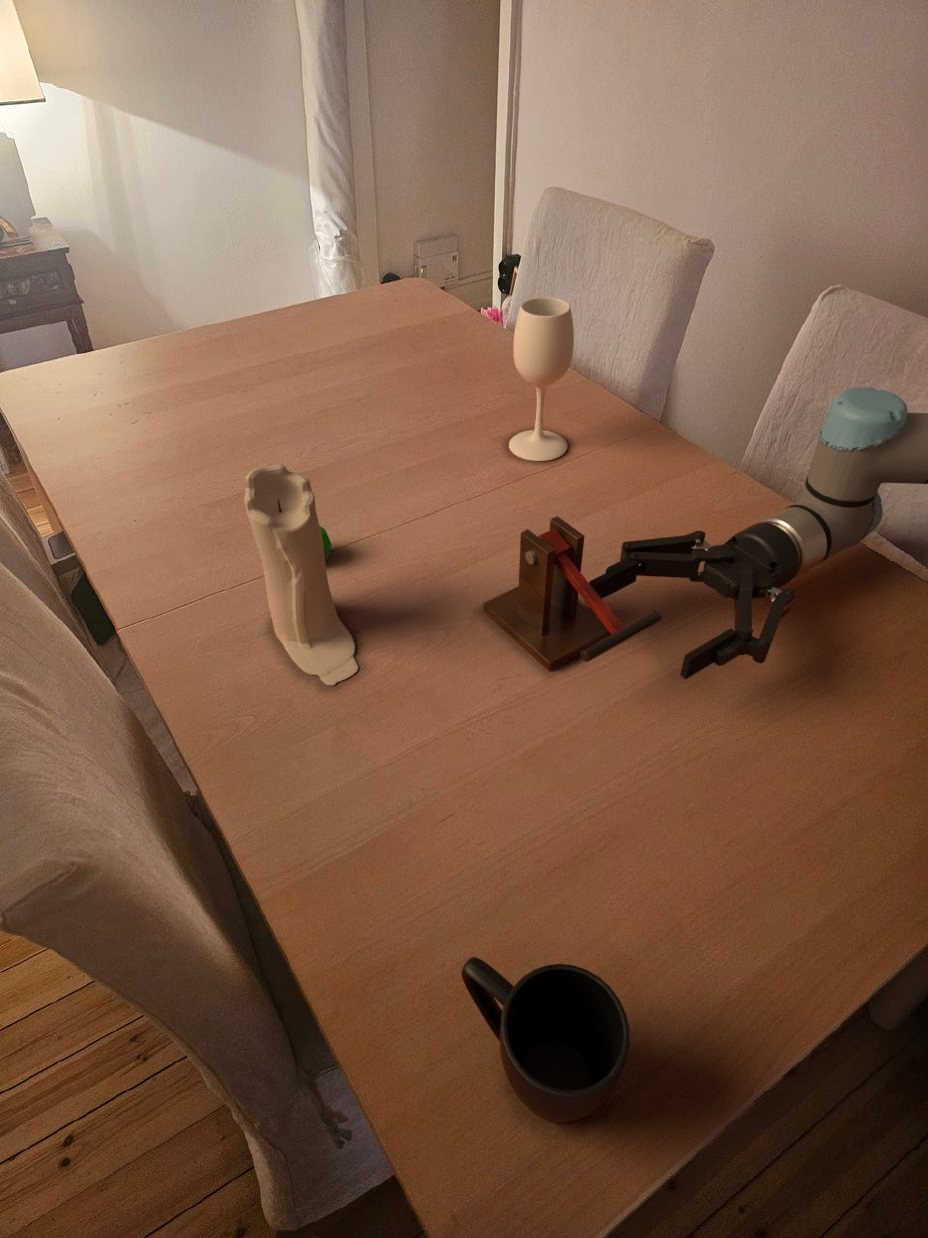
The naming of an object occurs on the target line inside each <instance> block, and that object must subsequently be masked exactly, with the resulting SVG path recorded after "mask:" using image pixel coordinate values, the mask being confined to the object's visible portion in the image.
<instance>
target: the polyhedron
mask: <svg viewBox="0 0 928 1238" xmlns="http://www.w3.org/2000/svg"><path fill="white" fill-rule="evenodd" d="M319 526H320V530H321V534H322V539H323V547H324V556H325V559H327V558H328V557H329V555H330V553H331V549H332V542H331V540H330V537H329V535H328V532H327V530H326V528H324V527H323V526H321V525H319Z"/></svg>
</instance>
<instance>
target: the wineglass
mask: <svg viewBox="0 0 928 1238" xmlns="http://www.w3.org/2000/svg"><path fill="white" fill-rule="evenodd" d="M573 321H574V320H573V313H572V307H571V305H570V304H569V302H567V301H565V300H563V299H560V298H557V297H549V296H539V297H533V298H529V299H527V300H525V301H523V302H522V303H521V305H520V306H519V310H518V314H517V318H516V322H515V327H514V334H513V346H512V347H513V361H514V365H515V369H516V370H517V372H518V374H519V375H520V376H521V377H522V378H523V379H524V380H525V381H526V382H528V383H529V384H530V385H532V386H534V387H535V389H536V417H535V423H534V424H535V425H534V429H530V430H524V431H521V432H519V433H517V434H515V435H514V436H512V438H511V439H510V440H509V442H508V448H509V450H510V452H511V453H512V454H513V455H514V456H516V457H519V458H520V459H523V460H526V461H531V462H547V461H552V460H555V459H558V458H560V457H561V456H563V455H564V454H565V453H566V451H568V443H567V441H566V440H565V438H564V437H563V436H561V435H560V434H558V433H555V432H553V431H550V430H546V429H545V430H544V406H545V405H544V402H545V396H546V390H547V388H548V387H549V386H551V385H553V384H555V383H557V382H558V381H560V380H561V379H562V378H563V377H564V376H565V375H566V373H567V372H568V371H569V368H570V366H571V364H572V360H573V353H574V345H575V343H574V342H575V334H574V333H575V331H574V322H573Z"/></svg>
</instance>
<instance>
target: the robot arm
mask: <svg viewBox="0 0 928 1238" xmlns="http://www.w3.org/2000/svg"><path fill="white" fill-rule="evenodd" d="M881 484H913V485H914V484H915V485H927V484H928V412H908V406H907V404H906V402H905V401H904V400H903V399H902V398H901V397H900V396H899V395H896V393H893V392H891V391H888V390H886V389H883V390H882V389H881V390H880V389H876V388H875V387H870V386H869V387H868V386H858V387H852V388H848V389H845V390H843V391H842V392H840V393H838V395H836V396H835V397H834V399H833V400H832V401H831V404H830V407H829V408H828V410H827V413H826V416H825V418H824V421H823V423H822V425H821V427H820V430H819V433H818V439H817V442H816V445H815V449H814V452H813V456H812V460H811V463H810V467H809V470H808V474H807V476H806V479H805V482H804V484H803V488H802V491H801V494H800V497H799V499H798V500H797V501H796V502H794V503H792V504H791V505H788V506H786V507H785V508H783V509H781V510H779V511H776V512H774V513H772V514H771V515H768V516H767V517H765V518H763V519H761V520H759V521H758V522H756V523H753V524H752V525H750V526H748V527H746V528H744V529H742V530H740V531H739V532H737V533H735V534H734V535H732V536H731V537H730V538H729V539H728V540H727V541H726V542H725V543H723V544H717V545H711V543H709V542H708V541H707V540H706V539H705V538H706V532H705V531H703V530H695V531H693V532H690V533H687V534H685V535H684V534H683V535H676V536H668V537H667V536H666V537H665V536H664V537H656V538H647V539H637V540H629V541H624V542H622V544H621V549H620V550H621V551H620V558H619V561H617V562H615V563H614V564H611V565H609V566H608V567H607V568H606V569H605V573H603V574H601V575H599V576H597V577H595V578H593V579H592V580H589V581H588V583H589V584H590V585H591V587H592V588H593V589H594V590H595V592H596V593H597V594H598V595H599V596H600V598H601V599H602V600H604V599H605V598H607V597H609V596H611V595H613V594H615V593H616V592H618V591H621V590H623V589H624V588H626V587H628V586H630V585H632V584H633V583H635V582H637V577H657V578H658V577H659V578H677V579H678V578H679V579H680V578H681V579H688V580H689V581H690V582H693V583H703V584H704V585H706V587H709V588H711V589H713V590H715V591H716V592H717V593H718V594H719V595H720V596H722V597H723V598H724V599H727V598H729V599H734V600H733V601H734V602H733V603H734V604H733V611H734V629H733V628H732V627H730V628H728V629H727V630H725V631H724V632H722V633H720V634H718V635H717V636H715V637H714V638H711V639H710V640H708V641H707V642H705V643H703V644H701V645H700V646H699V647H697V648H695V649H693V650H691V651H690V652H688V653H686V654H685V655H684V656H683V661H682V666H681V669H680V674H679V675H680V677H682V678H683V679H684V680H688V679H689V678H691V677H693V676H694V675H696V674H697V673H699V672H701V671H703V670H704V669H705V668H707V667H708V666H710V665H713V664H715V665H716V666H717V667H721V666H725V665H726V664H728V663H729V662H731V661H733V660H734V659H736V658H737V657H739V656H745V655H747V656H750V657H752V660H753V661H754V662H755V663H757V664H764V663H765V662H766V659H767V656H768V654H769V651H770V649H771V646H772V643H773V641H774V637H775V635H776V633H777V630H778V626H779V625H780V621H781V619H783V618H784V617H785V616H786V615H788V614H789V613H790V612H791V609H792V606H793V603H794V601H795V597H796V596H797V591H796V590H795V589H794V588H791V587H786V588H785V589H783V590H781V589H780V588H782V587H783V586H785V585H787V584H788V583H790V582H791V581H793V580H795V579H796V578H798V577H800V576H801V575H803V574H805V573H807V572H808V571H810V570H812V569H814V568H815V567H817V566H818V565H820V564H823V562H824V561H826V560H828V559H830V558H832V557H834V556H836V555H837V554H839V553H841V552H843V551H845V550H847V549H850V548H852V547H854V546H856V545H857V544H859V543H861V541H862V540H864V539H865V538H866V537H867V536H869V535H870V534H871V533H873V532H874V531H875V530H876V529H877V528H878V526H879V525H880V523H881V521H882V519H883V515H884V513H883V512H884V510H883V505H882V497H881V495H880V493H879V489H880V487H881ZM702 562H704V563H703V569H702V571H699V569H700V565H701V563H702ZM766 598H767V599H768V602H767V605H768V606H769V611H768V614H767V616H766V618H765V621H764V624H763V627H762V629H761V631H760V634H759V637H758V638H757V637H755V636H753V632H754V630H755V629H754V628H753V600H761V599H762V600H764V599H766Z"/></svg>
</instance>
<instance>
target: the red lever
mask: <svg viewBox="0 0 928 1238" xmlns="http://www.w3.org/2000/svg"><path fill="white" fill-rule="evenodd" d="M538 537H539V538H540V539H541V540H543V541H544V542H545V543H547V544H548V545H549V546H551V547H552V548H553V549H555V557H554V565H555V564H556V565H557V566H558V567H559V569H560V570H561V571H562V573H563V574H564V575H565V576H566V578H567V579H568V580H569V581H570V583H571V584H572V585H573V586H574V588H575V589H576V590H577V591H578V595H580V597H581V598H582V599H583V601H584V602H585V603H586V604H587V606H588V607H589V608H590V609H591V610H592V613H593V614H594V615H595V616H596V617H598V618H599V619H600V621H601V622H602V623H603V624H604V626H605V627H606V628H607V629H608V631H609V632H610V633H611V635H610V636H608V637H606V638H604V639H603V640H601V641H599V642H597V643H595V644H594V645H592V646H590V647H588V648H586V649H585V650H583V651H581V654H580V657H581V659H582V660H583V662H585V663H588V662H590V661H593V660H594V659H596V658H598V657H600V656H601V655H603V654H604V653H606V652H607V651H610V650H612V649H613V648H615V647H617V646H618V645H621V644H622V643H624V642H627V640H629V639H631V638H633V637H634V636H636V635H638V634H640V633H642V632H643V631H645V630H648V629H649V628H651V627H653V626H654V625H656V624H657V623H659V622H661V621H662V615H661V613H660V612H659V611H657V610H653V611H651V612H650V613H648V614H646V615H645V616H642V617H640V618H638V619H637V620H635V621H633V622H631V623H629V624H628V625H626V626H624V625H623V624H622V623H621V621H620V620H619V619H618V617H617V616H616V615H615V613H613V611H612V610H611V609H610V608H609V606H608V605H607V604H606V603H605V601H604V599H601V598H600V596H599V595H598V594H597V593H596V592H595V590H594V589H593V588H592V587H591V585H590V584H589V581H588V580H587V579H586V577H585V576H584V575H583V574H582V572H581V573H580V572H579V570H578V569H577V568H576V567H575V565H574V564H573V563H572V562H571V560H570V559H569V558H568V557H567V553H568V551H569V549H570V546H569V545H568V544H567V542H566V541H565V540H564V539H563V537H562V536H561V535H560V534H559V532H558V531H557V530H556V529H555V528H554V529H552V530H550V529H549V530H548V531H545V532H543V533H541V534H538Z"/></svg>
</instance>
